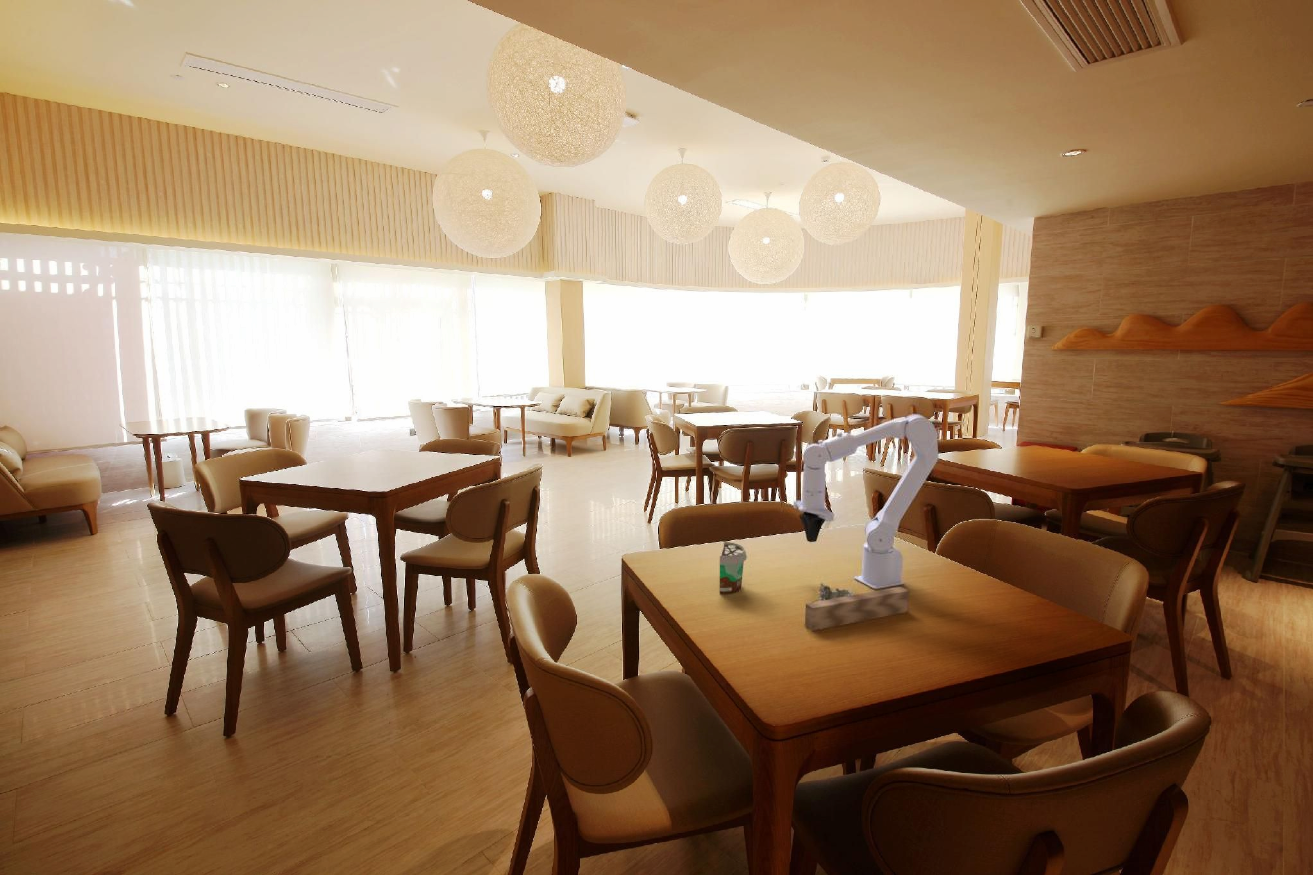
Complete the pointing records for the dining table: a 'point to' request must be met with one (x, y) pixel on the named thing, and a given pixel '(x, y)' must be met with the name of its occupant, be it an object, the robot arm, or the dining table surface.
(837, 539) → the dining table surface
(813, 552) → the dining table surface
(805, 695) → the dining table surface
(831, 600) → the walnut board
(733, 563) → the food container
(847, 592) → the egg carton
